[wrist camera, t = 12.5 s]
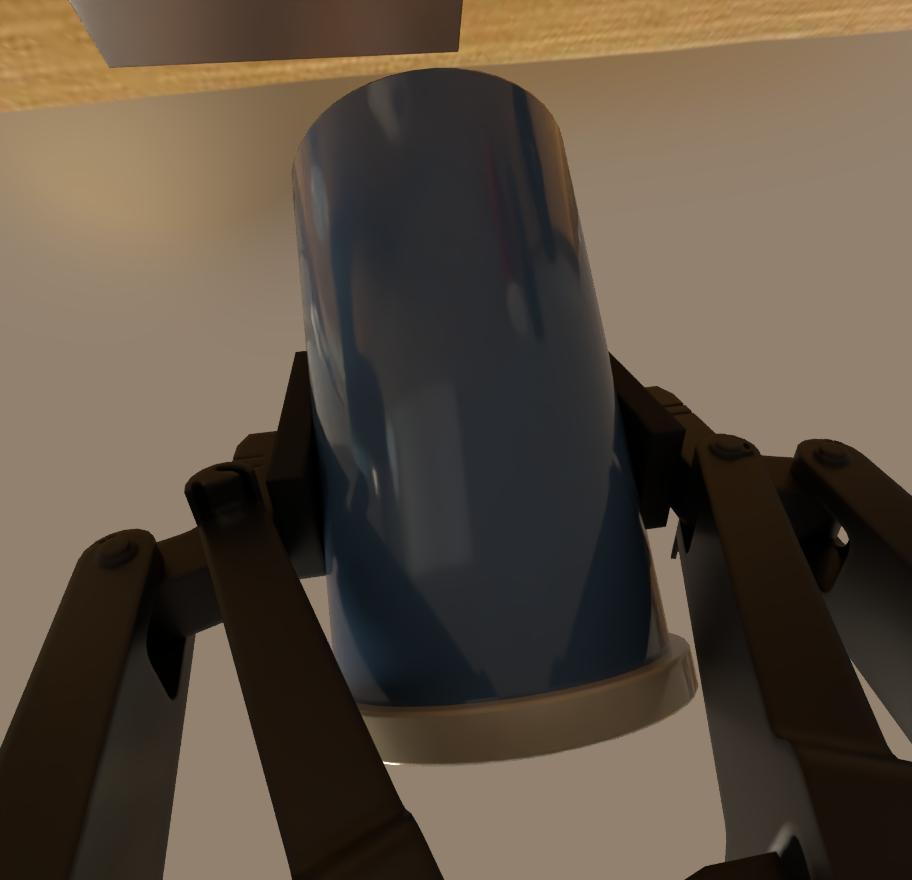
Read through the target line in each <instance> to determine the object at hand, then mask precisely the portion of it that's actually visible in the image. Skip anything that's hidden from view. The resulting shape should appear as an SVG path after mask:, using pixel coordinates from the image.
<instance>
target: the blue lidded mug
mask: <svg viewBox="0 0 912 880" xmlns="http://www.w3.org/2000/svg"><path fill="white" fill-rule="evenodd" d="M292 189H293V201H294V212H295V224H296V234H297V246H298V258H299V268H300V281H301V292H302V304H303V315H304V326H305V338H306V350H307V361H308V373H309V384H310V396H311V407H312V419H313V430H314V442H315V453H316V465H317V476H318V488H319V499H320V511H321V522H322V534H323V545H324V557H325V568H326V579H327V591H328V602H329V614H330V625H331V637H332V648H333V654H334V656H335V658H336V661H337V663H338V665H339V667H340V669H341V671H342V674H343V676H344V678H345V680H346V682H347V685H348V687H349V689H350V691H351V693H352V695H353V698H354V700H355V702H356V704H357V706H358V709H359V711H360V713H361V715H362V717H363V720H364V722H365V724H366V726H367V728H368V730H369V733H370V735H371V737H372V739H373V741H374V744H375V746H376V748H377V750H378V752H379V754H380V757H381V759H382V761H383V763H384V764H390V765H404V766H461V765H477V764H488V763H497V762H506V761H515V760H522V759H528V758H534V757H540V756H546V755H552V754H557V753H561V752H566V751H571V750H576V749H580V748H584V747H588V746H592V745H596V744H599V743H603V742H606V741H610V740H613V739H616V738H619V737H622V736H625V735H628V734H631V733H634V732H637V731H639V730H642V729H644V728H647V727H649V726H651V725H654V724H656V723H659V722H661V721H662V720H664V719H666V718H668V717H670V716H672V715H674V714H675V713H677V712H678V711H680V710H681V709H682V708H683V707H685V706H686V705H688V703H689V702H690V701H691V700H692V699H693V698H694V697H695V694H696V691H697V689H698V682H697V677H696V672H695V667H694V663H693V658H692V654H691V650H690V645H689V644H688V643H687V642H686V640H685V639H683V638H681V637H680V636H677V635H675V634H671V633H668V628H667V623H666V619H665V614H664V610H663V605H662V600H661V595H660V591H659V586H658V582H657V577H656V572H655V568H654V563H653V558H652V553H651V549H650V544H649V540H648V535H647V530H646V525H645V521H644V516H643V512H642V507H641V502H640V498H639V493H638V488H637V484H636V479H635V474H634V470H633V465H632V460H631V456H630V451H629V446H628V442H627V437H626V432H625V428H624V423H623V418H622V414H621V409H620V404H619V400H618V395H617V390H616V386H615V381H614V376H613V372H612V367H611V362H610V358H609V353H608V349H607V344H606V339H605V334H604V330H603V325H602V321H601V316H600V312H599V306H598V302H597V297H596V292H595V288H594V283H593V279H592V274H591V269H590V265H589V261H588V255H587V251H586V246H585V242H584V236H583V233H582V227H581V223H580V218H579V213H578V209H577V205H576V199H575V195H574V190H573V185H572V181H571V176H570V171H569V167H568V162H567V157H566V153H565V148H564V143H563V139H562V136H561V132H560V129H559V127H558V125H557V123H556V121H555V119H554V117H553V115H552V114H551V113H550V112H549V110H548V109H547V108H546V107H545V105H544V104H543V103H542V102H541V101H539V100H538V99H537V98H536V97H535V96H534V95H533V94H531V93H530V92H529V91H527V90H525V89H524V88H522V87H520V86H519V85H517V84H516V83H513V82H511V81H508V80H506V79H504V78H501V77H499V76H496V75H492V74H488V73H484V72H481V71H475V70H468V69H460V68H430V69H421V70H412V71H408V72H403V73H399V74H394V75H390V76H387V77H385V78H382V79H379V80H376V81H373V82H370V83H368V84H366V85H364V86H362V87H360V88H358V89H356V90H354V91H352V92H351V93H349V94H347V95H346V96H344V97H343V98H341V99H340V100H338V101H336V102H335V103H334V104H333V105H331V106H330V107H329V108H328V109H327V110H326V111H325V112H323V113H322V114H321V115H320V116H319V117H318V119H317V120H316V121H315V122H314V123H313V124H312V125H311V127H310V128H309V129H308V131H307V133H306V134H305V136H304V137H303V139H302V141H301V142H300V145H299V147H298V150H297V152H296V155H295V158H294V163H293V168H292Z"/></svg>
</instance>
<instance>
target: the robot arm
mask: <svg viewBox="0 0 912 880" xmlns="http://www.w3.org/2000/svg"><path fill="white" fill-rule="evenodd" d="M608 353H609V358H610V362H611V367H612V372H613V376H614V381H615V386H616V390H617V395H618V400H619V404H620V409H621V414H622V418H623V423H624V428H625V432H626V437H627V442H628V446H629V451H630V456H631V460H632V465H633V470H634V474H635V479H636V484H637V488H638V493H639V498H640V502H641V507H642V512H643V516H644V521H645V525H646V529H652V528H660V527H666V524H667V519H668V514H669V509H670V507H671V508H672V509H673V511H674V512H675V513H676V515H677V516H678V517H679V522H678V526H677V531H676V536H675V540H674V544H673V549H672V554H671V559H672V558H673V559H676V555H677V552H679V554H680V560H681V566H682V572H683V577H684V583H685V589H686V595H687V602H688V607H689V613H690V619H691V625H692V631H693V636H694V643H695V648H696V654H697V661H698V666H699V672H700V678H701V684H702V690H703V696H704V702H705V707H706V713H707V720H708V725H709V731H710V736H711V743H712V749H713V755H714V761H715V767H716V773H717V778H718V784H719V790H720V796H721V802H722V808H723V814H724V819H725V827H726V855H725V862H723V863H718V864H714V865H709V866H705V867H704V868H702V869H700V870H699V871H697V872H696V873H694V874H693V875H691V876H690V877H688V878H687V879H685V880H912V762H911V761H906V760H901V759H898V758H897V757H896V756H895V755H894V754H893V753H892V752H891V750H890V749H889V747H888V745H887V743H886V741H885V739H884V737H883V734H882V732H881V730H880V728H879V725H878V723H877V721H876V718H875V716H874V714H873V711H872V709H871V707H870V704H869V702H868V700H867V698H866V695H865V693H864V691H863V688H862V686H861V684H860V681H859V679H858V677H857V675H856V672H855V670H854V668H853V665H852V663H851V661H850V659H851V660H852V662H853V663H854V664H855V666H856V667H857V669H858V670H859V671H860V673H861V674H862V676H863V677H864V678H865V680H866V681H867V683H868V684H869V685H870V687H871V688H872V689H873V691H874V692H875V693H876V695H877V696H878V698H879V699H880V700H881V702H882V703H883V705H884V706H885V707H886V709H887V710H888V711H889V713H890V714H891V716H892V717H893V718H894V720H895V721H896V723H897V724H898V725H899V727H900V728H901V729H902V731H903V732H904V734H905V735H906V736H907V738H908V739H909V741H910V742H911V743H912V496H911V495H910V494H909V493H907V492H906V491H905V490H904V489H903V488H902V487H901V486H899V485H898V484H897V483H896V482H895V481H894V480H892V479H891V478H890V477H889V476H888V475H886V474H885V473H884V472H883V471H882V470H881V469H880V468H878V467H877V466H876V465H875V464H874V463H873V462H871V461H870V460H869V459H868V458H867V457H865V456H864V455H863V454H862V453H860V452H859V451H857V450H856V449H854V448H853V447H850V446H848V445H845V444H843V443H842V442H839V441H832V440H829V439H811V440H805V441H803V442H801V443H800V444H799V445H798V446H797V449H796V452H795V455H794V458H791V457H774V456H763V455H761V454H760V452H759V450H758V449H757V448H756V447H755V445H753V444H752V443H750V442H748V441H747V440H745V439H742V438H739V437H736V436H734V435H727V434H716V433H714V432H713V431H712V430H711V429H710V428H709V427H708V426H707V425H706V424H705V423H704V422H703V421H702V420H701V419H699V418H698V417H697V416H696V415H695V414H694V413H692V412H691V410H690V409H689V408H688V407H687V406H686V405H683V403H682V402H681V401H680V400H679V399H678V398H677V397H676V396H675V395H674V394H672V393H670V392H668V391H666V390H664V389H662V388H660V387H658V386H653V387H644V386H642V384H640V382H639V381H638V380H637V379H636V378H634V376H633V375H632V374H631V373H630V372H629V371H628V370H627V369H626V368H625V367H624V366H623V365H622V364H621V363H620V362H619V361H617V360H616V358H615V357H614V356H613V355H612V354H611V353H610V352H609V351H608ZM184 492H185V495H186V498H187V501H188V503H189V506H190V508H191V511H192V513H193V516H194V519H195V521H196V524H197V527H196V528H194V529H192V530H190V531H188V532H186V533H183V534H180V535H177V536H174V537H171V538H168V539H166V540H162V541H159V542H156V540H155V538H154V536H153V535H152V534H150V532H148V531H146V530H141V529H130V530H122V531H119V532H116V533H113V534H110V535H108V536H105V537H104V538H102V539H100V540H98V541H96V542H95V543H94V544H92V545H91V546H90V547H89V548H87V549H86V550H85V551H84V552H83V554H82V555H81V557H80V558H79V560H78V562H77V564H76V567H75V569H74V571H73V574H72V576H71V578H70V581H69V583H68V586H67V588H66V591H65V593H64V595H63V598H62V600H61V603H60V605H59V608H58V610H57V612H56V615H55V617H54V620H53V622H52V625H51V627H50V629H49V632H48V634H47V637H46V639H45V642H44V644H43V646H42V649H41V651H40V653H39V656H38V659H37V661H36V663H35V666H34V668H33V671H32V673H31V675H30V678H29V680H28V683H27V686H26V687H25V690H24V692H23V695H22V697H21V699H20V702H19V704H18V707H17V709H16V712H15V714H14V717H13V719H12V721H11V724H10V726H9V728H8V731H7V733H6V736H5V738H4V741H3V743H2V745H1V748H0V880H163V872H164V864H165V857H166V850H167V842H168V835H169V828H170V820H171V813H172V806H173V798H174V791H175V783H176V775H177V768H178V760H179V753H180V746H181V739H182V731H183V724H184V716H185V709H186V702H187V694H188V687H189V679H190V672H191V664H192V657H193V650H194V641H195V633H198V632H200V631H203V630H205V629H208V628H210V627H212V626H215V625H218V624H220V623H224V627H225V630H226V634H227V638H228V641H229V645H230V649H231V653H232V656H233V660H234V664H235V667H236V671H237V675H238V679H239V682H240V686H241V689H242V693H243V697H244V701H245V704H246V708H247V712H248V715H249V719H250V723H251V727H252V730H253V734H254V738H255V741H256V745H257V749H258V752H259V756H260V760H261V763H262V767H263V771H264V775H265V778H266V782H267V786H268V790H269V793H270V797H271V801H272V804H273V808H274V812H275V816H276V819H277V823H278V826H279V830H280V834H281V838H282V841H283V845H284V849H285V852H286V856H287V860H288V864H289V868H290V872H291V877H292V880H444V878H443V876H442V874H441V872H440V870H439V868H438V866H437V863H436V862H435V859H434V857H433V855H432V853H431V851H430V849H429V846H428V844H427V842H426V840H425V838H424V836H423V834H422V832H421V830H420V828H419V826H418V824H417V822H416V821H415V819H414V817H413V816H412V814H411V813H410V812H409V811H407V810H406V809H405V807H404V806H403V804H402V802H401V800H400V798H399V796H398V794H397V792H396V789H395V787H394V785H393V783H392V781H391V779H390V776H389V774H388V772H387V770H386V768H385V765H384V763H383V761H382V759H381V757H380V754H379V752H378V750H377V748H376V746H375V744H374V741H373V739H372V737H371V735H370V733H369V730H368V728H367V726H366V724H365V722H364V720H363V717H362V715H361V713H360V711H359V709H358V706H357V704H356V702H355V700H354V698H353V695H352V693H351V691H350V689H349V687H348V685H347V682H346V680H345V678H344V676H343V674H342V671H341V669H340V667H339V665H338V663H337V661H336V658H335V656H334V654H333V652H332V650H331V648H330V645H329V643H328V641H327V639H326V636H325V634H324V632H323V630H322V628H321V626H320V623H319V621H318V619H317V617H316V615H315V613H314V610H313V608H312V606H311V604H310V602H309V599H308V597H307V595H306V593H305V591H304V589H303V586H302V584H301V582H300V580H299V579H304V578H311V577H317V576H325V575H326V568H325V557H324V545H323V534H322V522H321V511H320V499H319V488H318V476H317V465H316V453H315V442H314V430H313V419H312V407H311V396H310V384H309V373H308V361H307V351H301V352H296V353H295V358H294V362H293V366H292V370H291V375H290V379H289V383H288V387H287V392H286V396H285V400H284V404H283V409H282V413H281V418H280V421H279V426H278V430H277V431H273V432H264V433H256V434H249V435H248V436H247V437H246V438H245V439H244V440H243V441H242V442H241V443H240V444H239V445H238V446H237V448H236V451H235V454H234V457H233V461H232V462H225V463H221V464H216V465H213V466H210V467H208V468H205V469H203V470H201V471H199V472H198V473H196V474H195V475H193V476H192V477H191V478H190V479H189V481H188V482H187V483H186V485H185V491H184ZM841 526H842V527H843V528H844V530H845V531H846V533H847V535H848V538H849V541H848V543H847V544H846V545H845V544H844V543H843V542H842V541H841V540H840V539H839V538H838V537H837V535H838V533H839V530H840V528H841Z"/></svg>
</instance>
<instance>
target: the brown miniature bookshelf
mask: <svg viewBox="0 0 912 880" xmlns="http://www.w3.org/2000/svg"><path fill="white" fill-rule="evenodd" d="M69 2H70V3H71V5H72V7H73V8H74V10H75V12H76V13H77V15H78V17H79V18H80V20H81V22H82V23H83V25H84V27H85V28H86V30H87V32H88V33H89V35H90V37H91V38H92V40H93V42H94V43H95V45H96V47H97V48H98V50H99V51H100V53H101V55H102V56H103V58H104V60H105V61H106V63H107V65H108V66H109V67H110V68H115V67H137V66H159V65H181V64H203V63H224V62H246V61H268V60H290V59H312V58H334V57H356V56H378V55H399V54H421V53H443V52H458V49H459V37H460V26H461V15H462V3H463V0H69Z"/></svg>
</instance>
